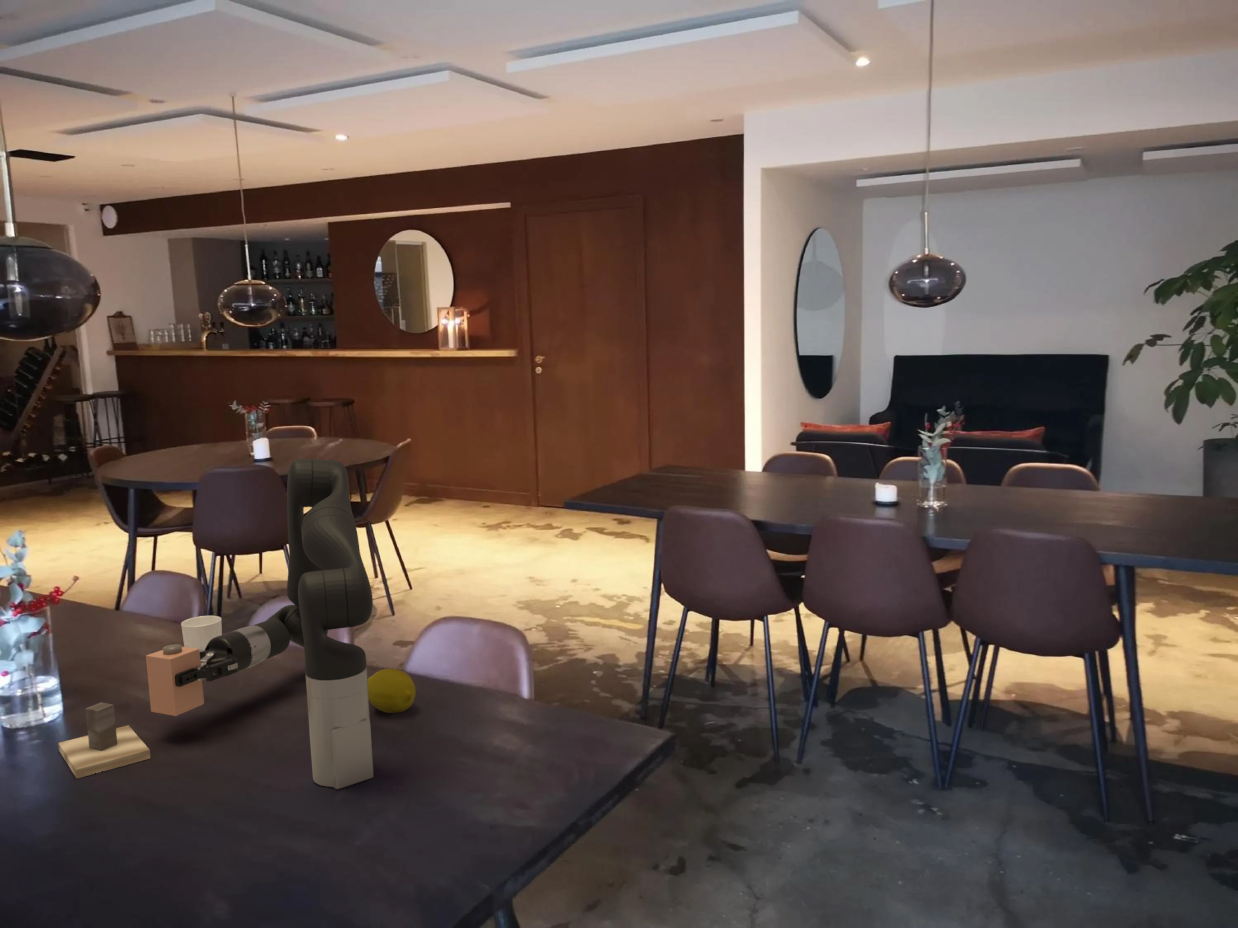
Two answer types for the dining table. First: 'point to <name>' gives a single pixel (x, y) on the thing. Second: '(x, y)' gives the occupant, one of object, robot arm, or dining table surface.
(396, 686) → the lemon
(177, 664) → the square capped bottle
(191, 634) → the white cup
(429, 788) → the dining table surface
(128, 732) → the shaft board
